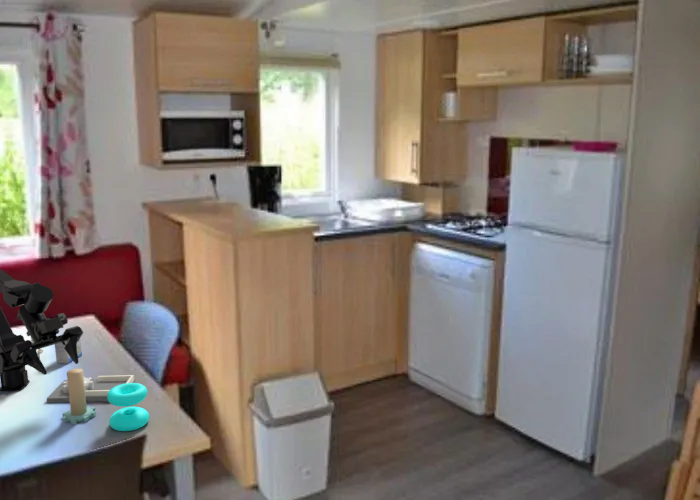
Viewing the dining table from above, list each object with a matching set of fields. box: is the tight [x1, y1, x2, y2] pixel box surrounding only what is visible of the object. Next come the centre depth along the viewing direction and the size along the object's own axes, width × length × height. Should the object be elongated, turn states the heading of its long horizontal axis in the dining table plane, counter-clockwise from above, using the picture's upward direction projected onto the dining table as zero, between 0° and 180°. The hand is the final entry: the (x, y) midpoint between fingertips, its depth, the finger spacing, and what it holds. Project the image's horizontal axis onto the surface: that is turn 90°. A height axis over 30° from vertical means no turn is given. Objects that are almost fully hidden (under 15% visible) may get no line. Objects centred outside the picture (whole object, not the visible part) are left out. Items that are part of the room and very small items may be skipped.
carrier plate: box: [46, 374, 136, 403], centre depth 193 cm, size 21×13×4 cm, turn 92°
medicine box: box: [54, 333, 83, 365], centre depth 219 cm, size 8×4×9 cm, turn 168°
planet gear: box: [61, 368, 97, 425], centre depth 177 cm, size 8×8×13 cm
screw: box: [30, 337, 44, 359], centre depth 220 cm, size 13×5×5 cm
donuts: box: [107, 382, 150, 432], centre depth 173 cm, size 10×10×10 cm
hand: (61, 368), depth 179 cm, fingers open, 9 cm apart
